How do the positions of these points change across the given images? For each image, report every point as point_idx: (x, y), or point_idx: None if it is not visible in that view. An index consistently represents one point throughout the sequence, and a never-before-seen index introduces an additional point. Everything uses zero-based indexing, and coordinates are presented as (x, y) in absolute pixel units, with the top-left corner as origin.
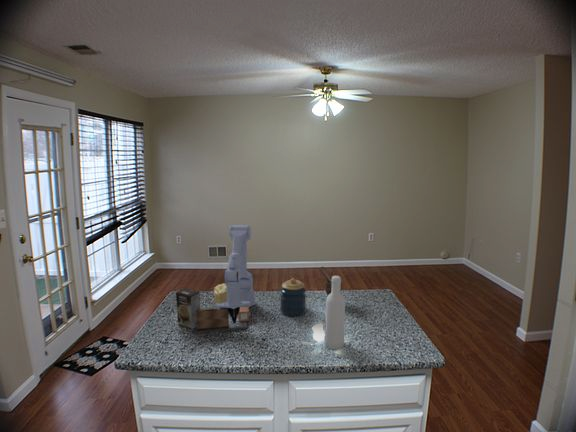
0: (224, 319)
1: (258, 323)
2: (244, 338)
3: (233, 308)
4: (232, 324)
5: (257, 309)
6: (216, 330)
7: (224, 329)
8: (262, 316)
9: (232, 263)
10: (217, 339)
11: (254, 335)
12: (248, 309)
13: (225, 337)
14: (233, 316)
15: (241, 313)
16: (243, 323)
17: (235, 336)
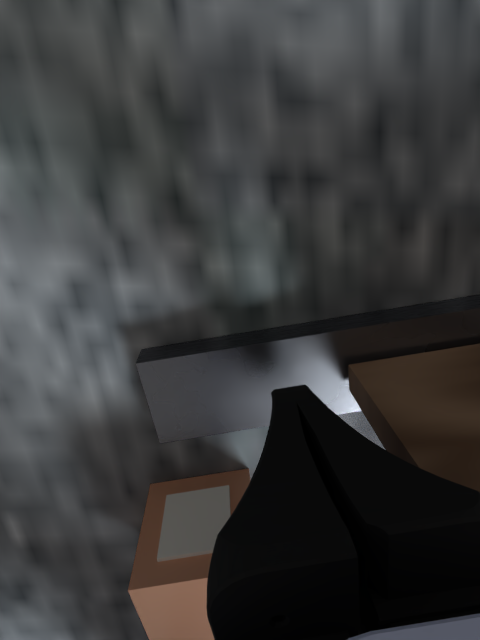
0: (444, 411)
1: (44, 445)
2: (128, 139)
3: (455, 635)
4: None
5: (114, 624)
6: (474, 303)
7: (388, 318)
8: (40, 545)
9: None
10: (465, 128)
11: (16, 210)
12: (142, 619)
13: (369, 174)
14: (326, 444)
15: None
16: (188, 421)
17: (250, 194)
